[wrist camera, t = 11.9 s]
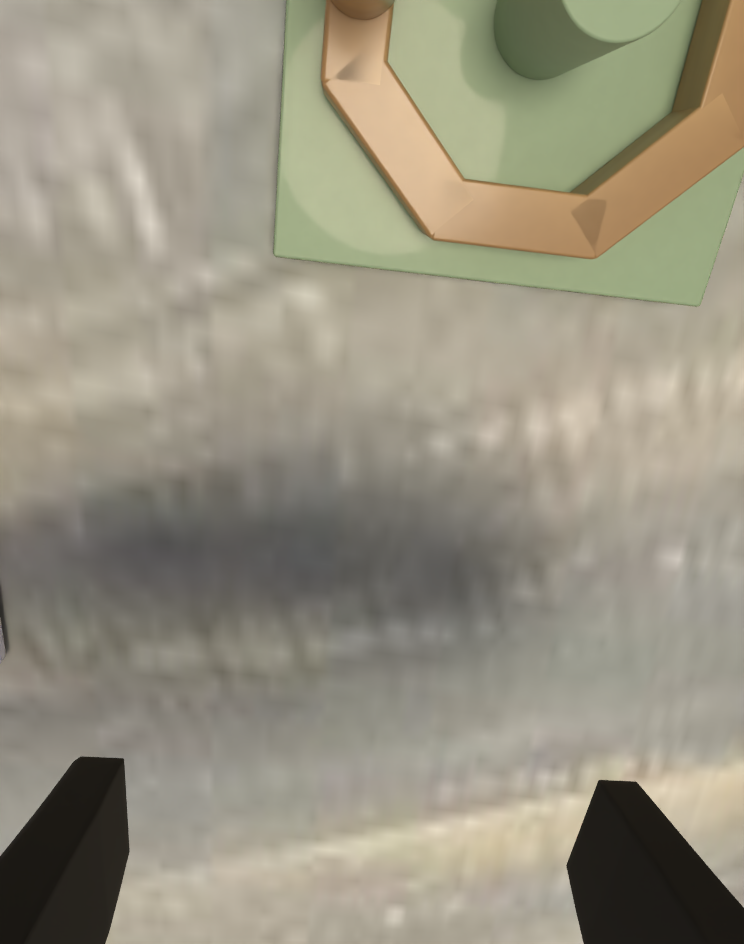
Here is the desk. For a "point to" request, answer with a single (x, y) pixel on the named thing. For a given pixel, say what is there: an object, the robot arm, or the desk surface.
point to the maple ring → (525, 208)
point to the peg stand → (503, 139)
